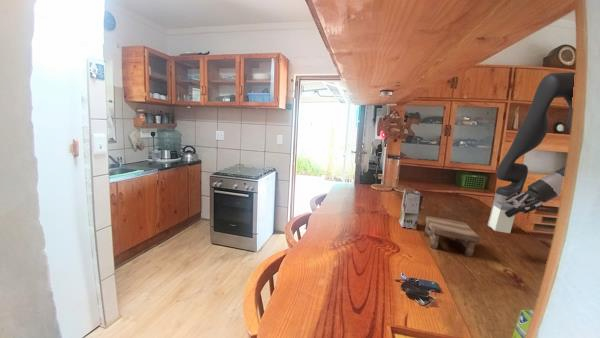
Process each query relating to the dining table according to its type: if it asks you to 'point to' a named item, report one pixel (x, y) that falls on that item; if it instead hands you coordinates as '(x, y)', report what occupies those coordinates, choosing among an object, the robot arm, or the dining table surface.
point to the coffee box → (410, 208)
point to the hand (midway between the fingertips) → (502, 212)
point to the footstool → (450, 233)
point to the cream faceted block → (501, 217)
